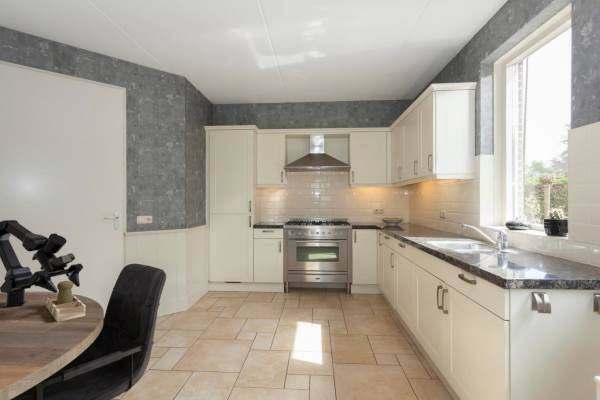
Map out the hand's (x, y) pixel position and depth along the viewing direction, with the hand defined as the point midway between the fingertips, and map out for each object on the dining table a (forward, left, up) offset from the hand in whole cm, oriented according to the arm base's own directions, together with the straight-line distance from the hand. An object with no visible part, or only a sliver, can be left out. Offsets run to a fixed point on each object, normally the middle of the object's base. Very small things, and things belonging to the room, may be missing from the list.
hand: (68, 289), depth 122 cm
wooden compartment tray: (-1, -1, -9) cm, 9 cm away
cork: (-1, -1, -8) cm, 8 cm away
